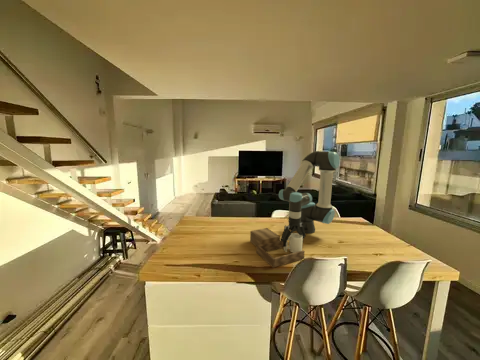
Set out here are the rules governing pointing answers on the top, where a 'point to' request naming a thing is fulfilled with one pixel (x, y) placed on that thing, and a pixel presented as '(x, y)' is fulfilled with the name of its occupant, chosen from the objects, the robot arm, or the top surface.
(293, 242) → the mug
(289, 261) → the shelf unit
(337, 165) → the robot arm
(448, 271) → the top surface
